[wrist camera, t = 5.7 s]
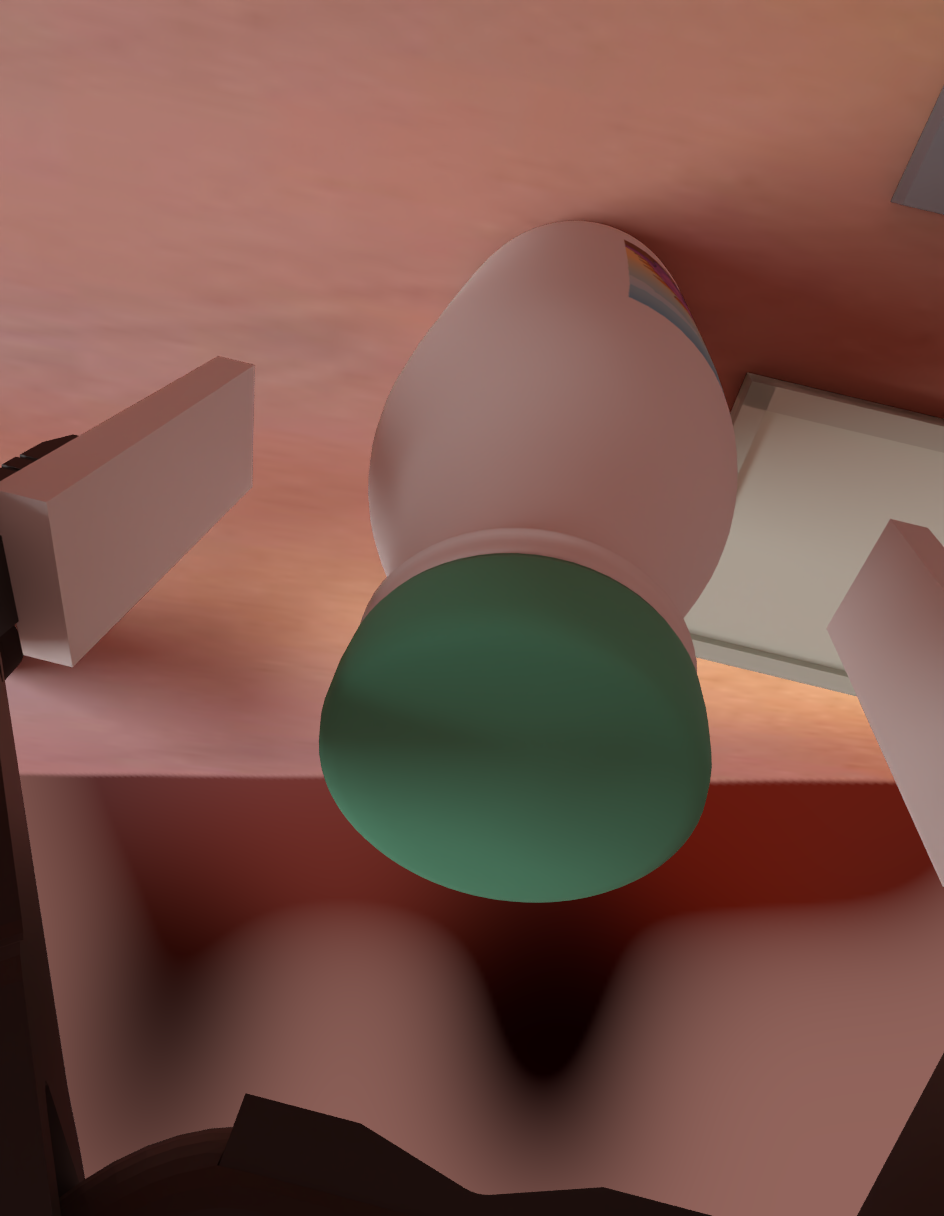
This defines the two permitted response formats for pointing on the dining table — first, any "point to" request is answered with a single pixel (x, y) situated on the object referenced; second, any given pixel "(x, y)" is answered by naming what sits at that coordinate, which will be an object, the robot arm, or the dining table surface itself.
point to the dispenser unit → (926, 167)
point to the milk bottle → (539, 580)
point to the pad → (810, 522)
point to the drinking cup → (10, 650)
